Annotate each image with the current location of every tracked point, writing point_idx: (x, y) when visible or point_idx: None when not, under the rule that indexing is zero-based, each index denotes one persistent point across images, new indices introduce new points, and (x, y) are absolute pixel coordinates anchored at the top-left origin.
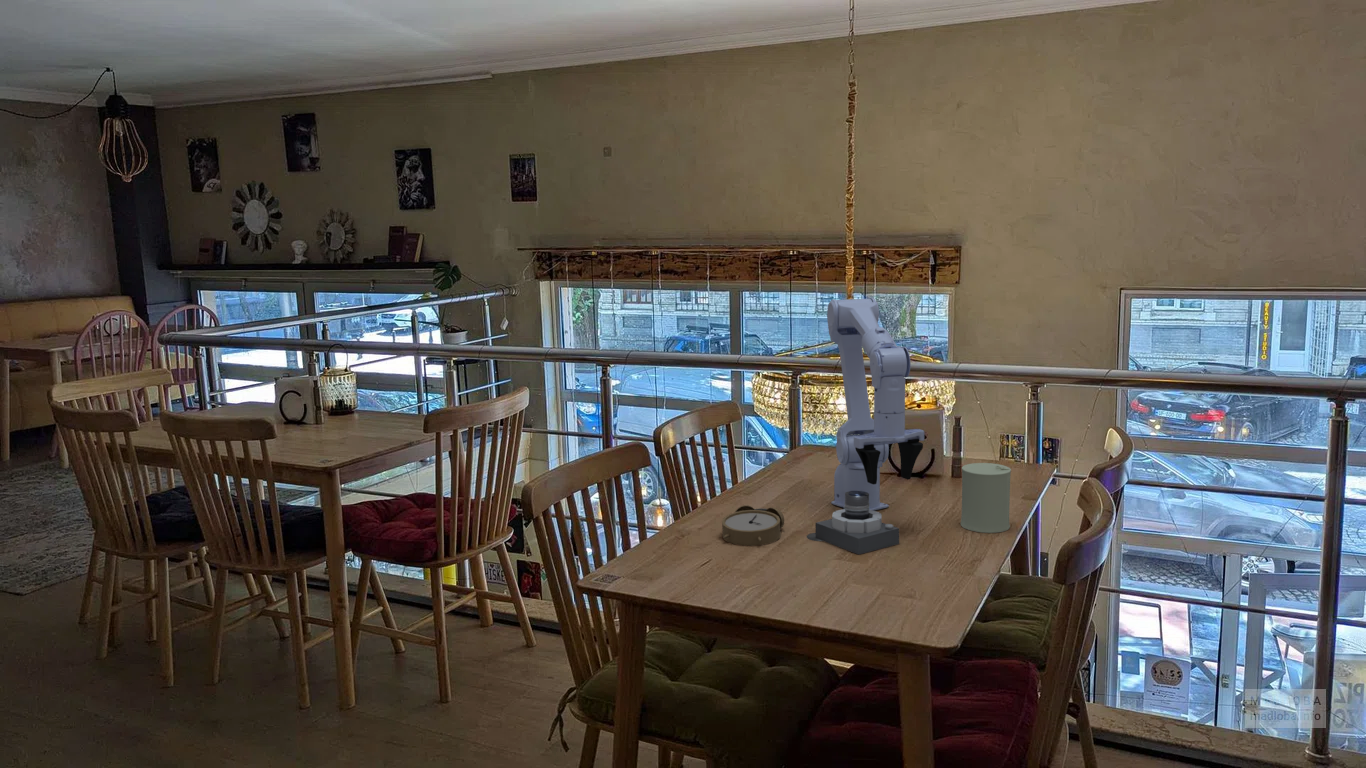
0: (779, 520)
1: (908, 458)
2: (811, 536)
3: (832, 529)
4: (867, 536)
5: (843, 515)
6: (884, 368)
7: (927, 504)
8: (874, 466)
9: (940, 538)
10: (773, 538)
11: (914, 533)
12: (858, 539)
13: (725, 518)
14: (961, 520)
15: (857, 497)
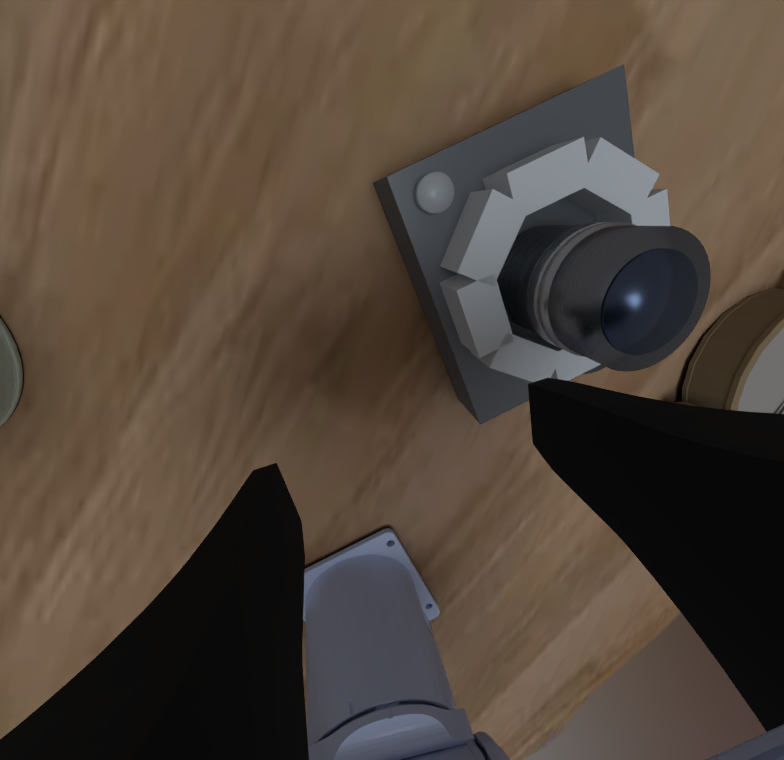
0: (746, 369)
1: (250, 614)
2: None
3: None
4: (573, 88)
5: None
6: None
7: (126, 612)
8: (673, 413)
9: (165, 215)
10: (742, 310)
11: (266, 307)
12: (621, 65)
13: None
14: (5, 383)
15: (682, 229)
